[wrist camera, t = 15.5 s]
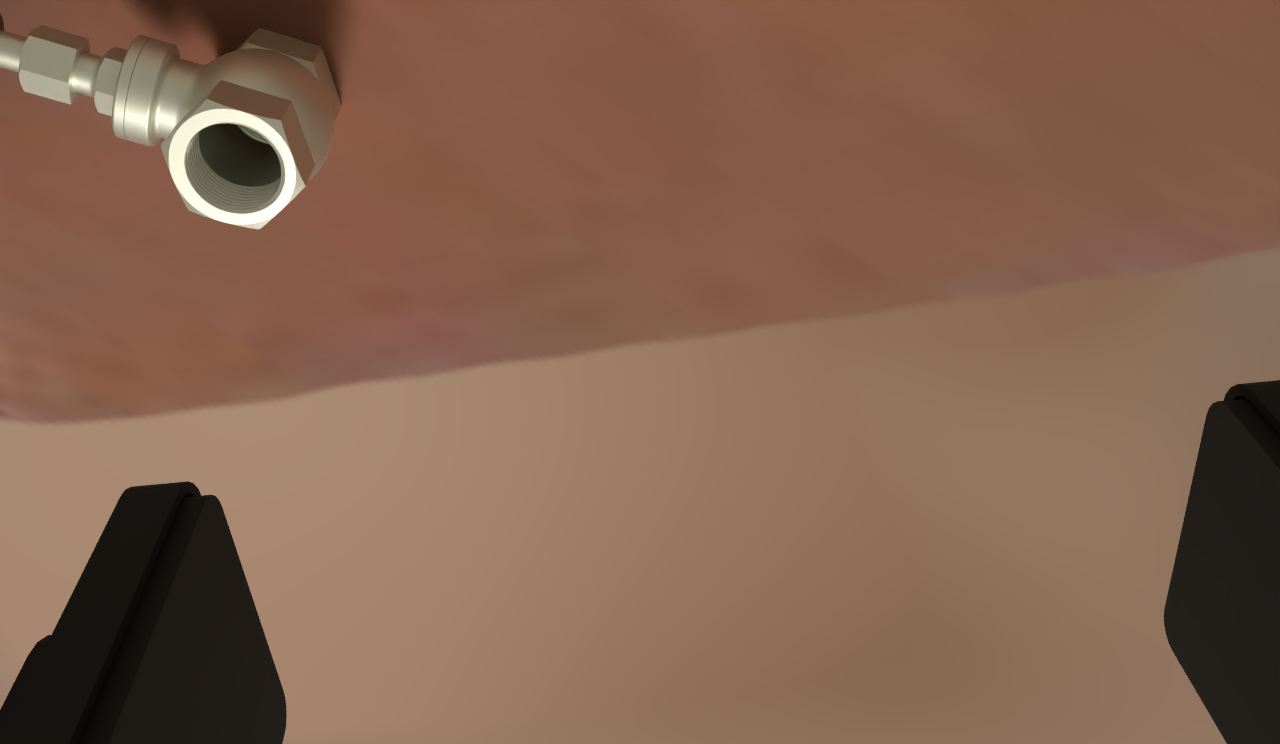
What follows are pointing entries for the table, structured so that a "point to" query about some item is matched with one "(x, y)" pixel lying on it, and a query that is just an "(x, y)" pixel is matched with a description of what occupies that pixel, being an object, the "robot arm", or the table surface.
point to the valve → (200, 111)
